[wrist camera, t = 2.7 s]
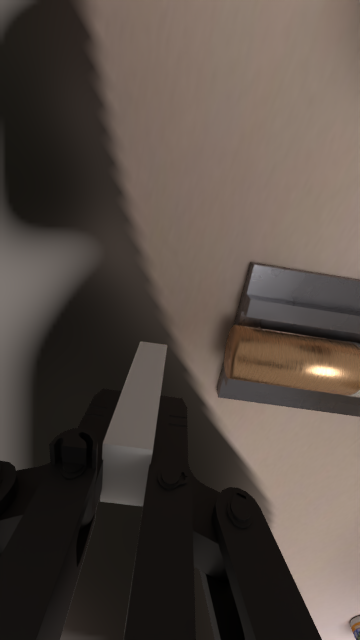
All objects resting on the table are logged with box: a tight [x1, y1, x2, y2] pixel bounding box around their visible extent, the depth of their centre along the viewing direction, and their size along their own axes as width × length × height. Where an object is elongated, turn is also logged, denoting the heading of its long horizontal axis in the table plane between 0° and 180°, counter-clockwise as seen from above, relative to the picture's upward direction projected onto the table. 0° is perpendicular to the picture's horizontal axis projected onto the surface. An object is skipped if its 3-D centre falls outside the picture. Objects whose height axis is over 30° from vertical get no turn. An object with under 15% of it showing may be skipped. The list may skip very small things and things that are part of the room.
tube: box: [224, 325, 360, 398], centre depth 16 cm, size 4×15×4 cm, turn 81°
